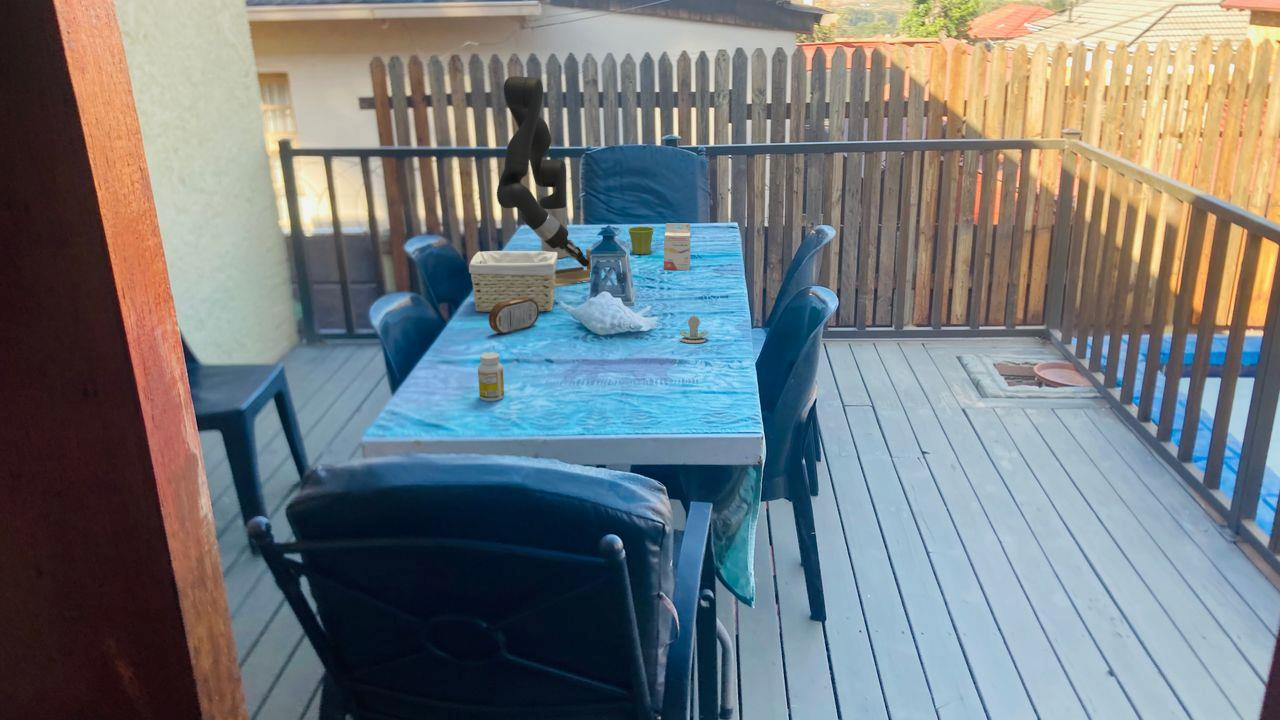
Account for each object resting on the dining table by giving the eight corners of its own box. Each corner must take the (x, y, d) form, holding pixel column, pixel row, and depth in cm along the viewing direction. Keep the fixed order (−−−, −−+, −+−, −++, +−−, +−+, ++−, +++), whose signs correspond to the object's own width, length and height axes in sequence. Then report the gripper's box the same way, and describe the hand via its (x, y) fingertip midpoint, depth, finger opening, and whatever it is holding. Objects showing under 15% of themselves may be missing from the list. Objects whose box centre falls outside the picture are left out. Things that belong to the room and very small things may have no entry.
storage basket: (560, 298, 285) (558, 249, 280) (555, 314, 270) (553, 262, 265) (479, 299, 285) (476, 250, 280) (470, 314, 270) (467, 263, 265)
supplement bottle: (491, 403, 206) (488, 361, 202) (474, 398, 209) (471, 356, 206) (509, 396, 209) (507, 354, 206) (493, 391, 213) (490, 349, 210)
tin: (534, 323, 261) (532, 293, 258) (541, 325, 259) (540, 295, 256) (488, 335, 251) (486, 304, 249) (496, 338, 249) (494, 306, 246)
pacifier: (707, 345, 242) (708, 337, 248) (707, 321, 240) (708, 314, 246) (678, 344, 243) (679, 336, 249) (678, 321, 241) (679, 313, 246)
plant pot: (623, 255, 337) (623, 230, 334) (634, 249, 346) (633, 225, 343) (648, 257, 334) (648, 232, 331) (658, 251, 342) (658, 227, 339)
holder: (527, 280, 304) (526, 271, 303) (578, 273, 313) (578, 264, 312) (541, 288, 295) (541, 279, 294) (594, 281, 303) (593, 271, 302)
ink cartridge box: (663, 270, 316) (663, 225, 311) (664, 266, 321) (664, 222, 316) (689, 270, 315) (689, 226, 310) (690, 266, 320) (690, 223, 315)
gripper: (566, 224, 292) (603, 259, 301) (548, 217, 303) (584, 251, 312) (551, 243, 291) (588, 277, 301) (533, 235, 302) (570, 269, 312)
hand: (586, 264), depth 307 cm, fingers closed
